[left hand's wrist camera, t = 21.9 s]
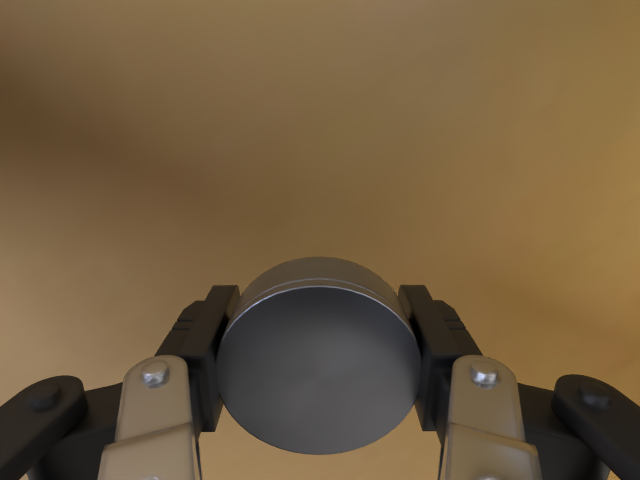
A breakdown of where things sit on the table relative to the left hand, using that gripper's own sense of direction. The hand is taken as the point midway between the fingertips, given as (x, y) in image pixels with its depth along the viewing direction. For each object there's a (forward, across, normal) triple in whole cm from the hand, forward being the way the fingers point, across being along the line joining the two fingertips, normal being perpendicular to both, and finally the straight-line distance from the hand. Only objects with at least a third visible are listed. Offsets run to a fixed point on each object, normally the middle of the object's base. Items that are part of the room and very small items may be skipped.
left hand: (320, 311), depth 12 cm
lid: (-3, 0, 0) cm, 3 cm away
